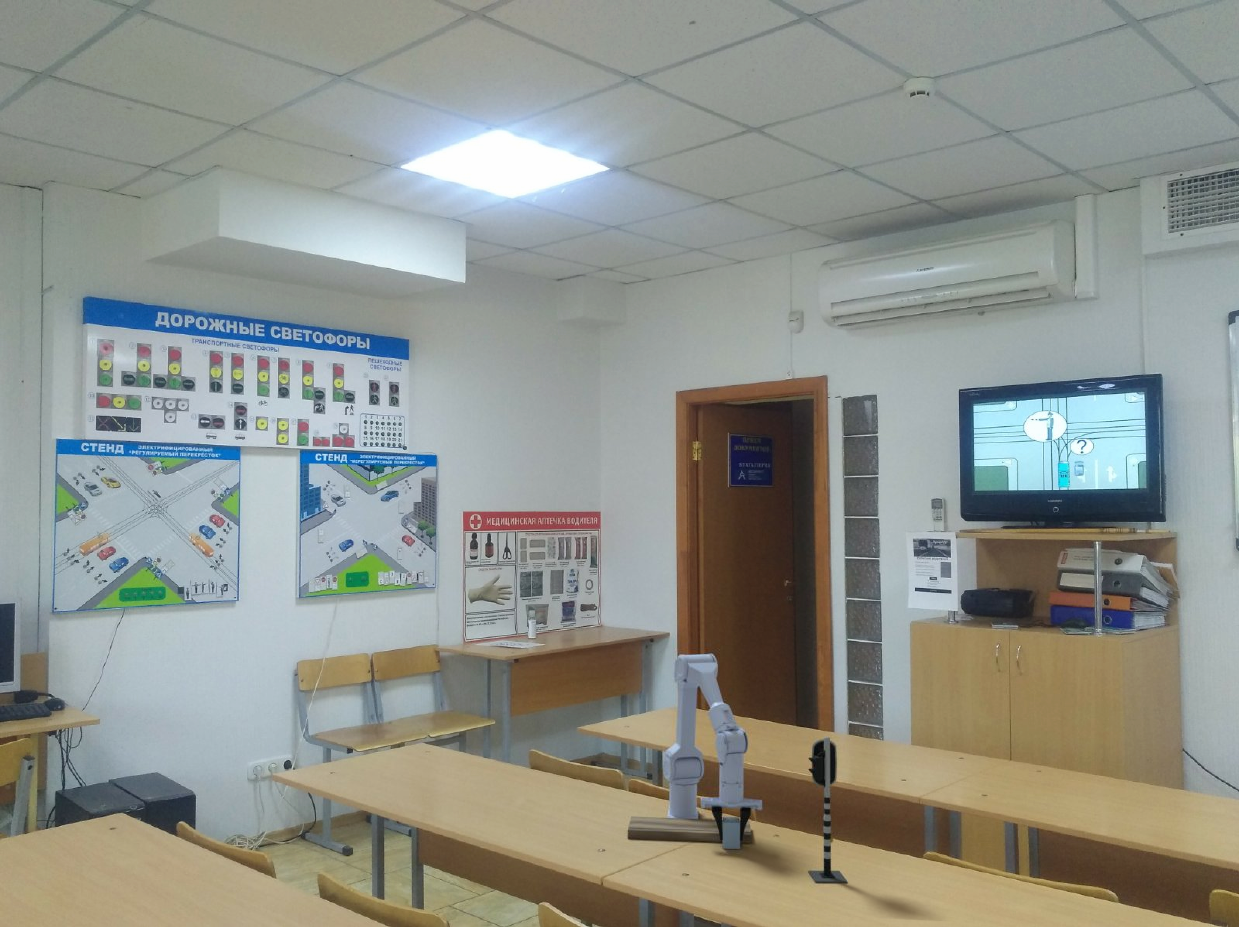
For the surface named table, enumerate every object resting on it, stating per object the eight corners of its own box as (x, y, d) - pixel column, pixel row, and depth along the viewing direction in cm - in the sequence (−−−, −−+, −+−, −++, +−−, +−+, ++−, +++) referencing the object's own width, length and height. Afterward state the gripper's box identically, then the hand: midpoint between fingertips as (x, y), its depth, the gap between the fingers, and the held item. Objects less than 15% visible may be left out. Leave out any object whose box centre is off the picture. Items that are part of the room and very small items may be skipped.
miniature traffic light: (838, 871, 222) (838, 733, 224) (847, 883, 214) (846, 740, 217) (805, 871, 222) (804, 733, 224) (812, 882, 214) (812, 740, 216)
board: (631, 824, 256) (631, 816, 256) (749, 828, 253) (749, 820, 254) (627, 838, 244) (627, 829, 244) (751, 843, 242) (751, 834, 242)
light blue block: (722, 838, 245) (722, 813, 245) (738, 839, 244) (738, 814, 245) (722, 848, 237) (722, 822, 237) (739, 849, 236) (739, 823, 237)
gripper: (700, 784, 237) (700, 843, 236) (762, 786, 236) (762, 845, 235) (701, 777, 244) (700, 834, 243) (761, 779, 243) (760, 836, 242)
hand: (731, 839), depth 239 cm, fingers closed on light blue block, 4 cm apart
